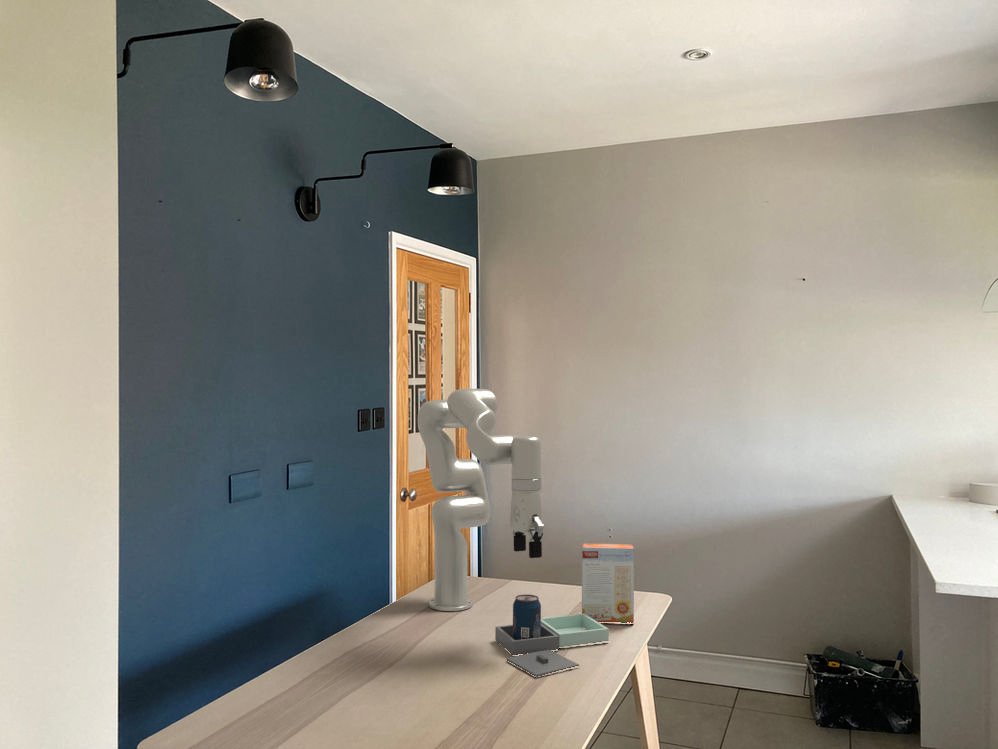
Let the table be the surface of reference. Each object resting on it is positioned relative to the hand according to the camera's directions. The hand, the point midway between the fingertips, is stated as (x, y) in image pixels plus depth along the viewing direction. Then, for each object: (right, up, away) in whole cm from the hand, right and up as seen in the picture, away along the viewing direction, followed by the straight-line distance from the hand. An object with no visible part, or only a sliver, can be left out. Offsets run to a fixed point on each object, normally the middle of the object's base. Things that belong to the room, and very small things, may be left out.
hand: (527, 554), depth 198 cm
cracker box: (+22, -23, +18) cm, 36 cm away
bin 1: (0, -22, -3) cm, 22 cm away
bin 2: (+12, -22, +4) cm, 25 cm away
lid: (+3, -22, -15) cm, 27 cm away
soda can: (0, -22, -3) cm, 22 cm away
